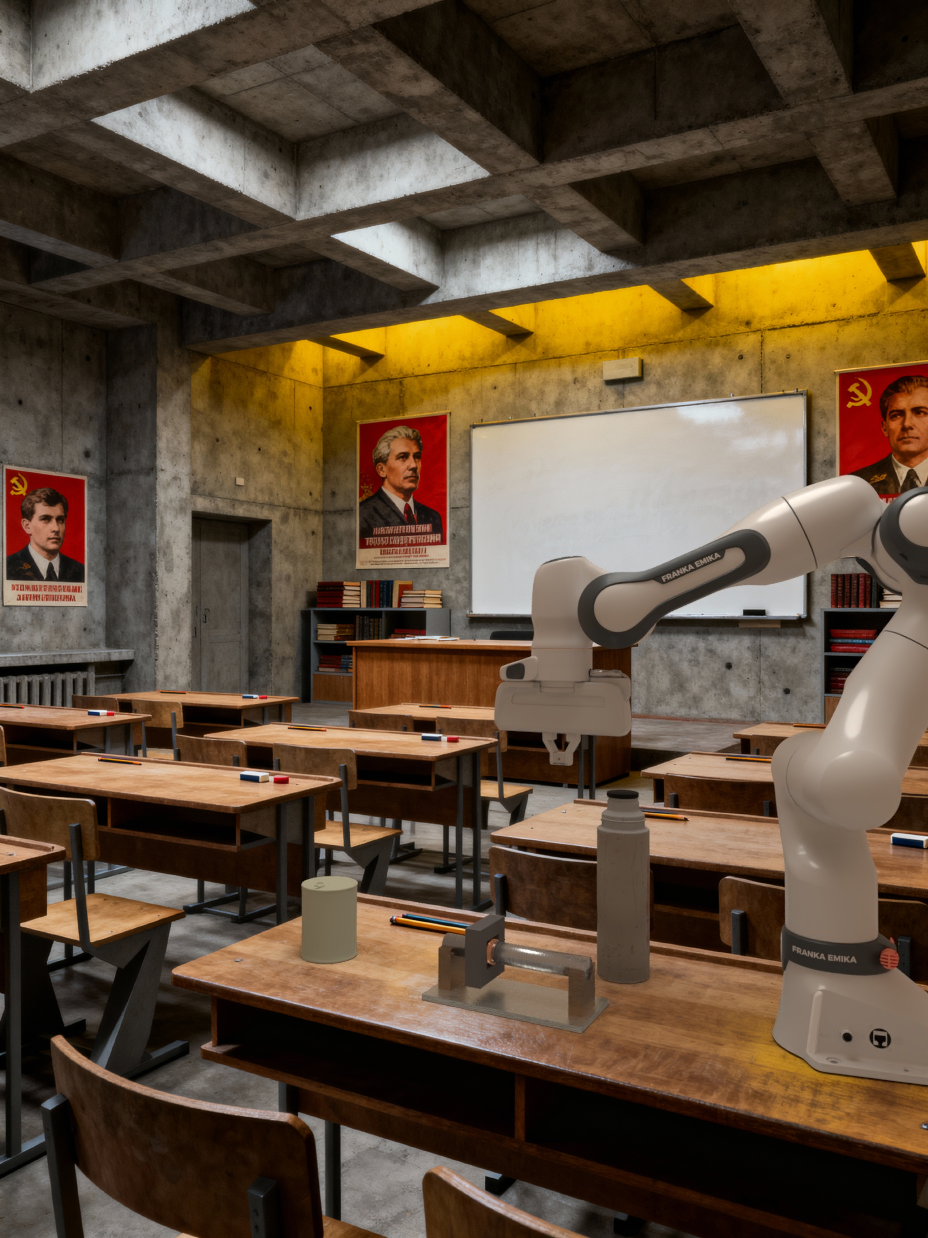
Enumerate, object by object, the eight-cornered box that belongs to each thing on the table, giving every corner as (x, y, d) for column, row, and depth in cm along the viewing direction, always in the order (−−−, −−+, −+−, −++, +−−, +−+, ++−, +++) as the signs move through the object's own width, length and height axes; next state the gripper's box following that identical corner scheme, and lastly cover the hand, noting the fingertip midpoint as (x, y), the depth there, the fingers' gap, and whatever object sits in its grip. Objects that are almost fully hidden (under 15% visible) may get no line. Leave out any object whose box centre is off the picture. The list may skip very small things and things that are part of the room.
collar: (504, 971, 135) (504, 916, 135) (480, 989, 128) (480, 931, 128) (489, 968, 136) (490, 914, 137) (464, 986, 129) (465, 928, 129)
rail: (609, 1004, 129) (609, 945, 129) (581, 1033, 119) (581, 969, 120) (458, 975, 140) (458, 920, 141) (421, 999, 131) (422, 941, 131)
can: (288, 957, 148) (289, 882, 149) (325, 941, 156) (326, 870, 156) (332, 968, 143) (333, 890, 144) (369, 951, 151) (369, 878, 152)
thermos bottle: (649, 967, 144) (649, 787, 145) (649, 986, 136) (649, 795, 137) (598, 963, 146) (598, 786, 147) (595, 981, 138) (595, 793, 139)
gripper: (638, 669, 131) (637, 767, 131) (507, 667, 141) (507, 758, 140) (624, 670, 126) (624, 772, 125) (489, 668, 135) (489, 762, 135)
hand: (561, 764), depth 133 cm, fingers closed
